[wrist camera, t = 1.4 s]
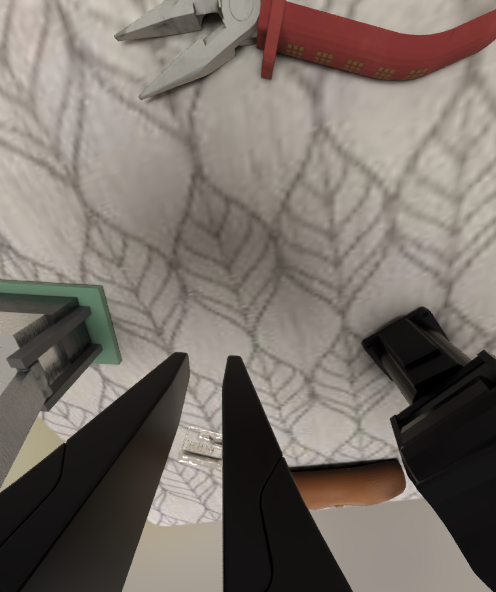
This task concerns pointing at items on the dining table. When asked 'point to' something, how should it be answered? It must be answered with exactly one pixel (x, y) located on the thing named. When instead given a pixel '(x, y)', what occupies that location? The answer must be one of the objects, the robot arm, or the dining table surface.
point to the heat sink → (38, 332)
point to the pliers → (301, 40)
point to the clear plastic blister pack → (196, 458)
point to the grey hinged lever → (20, 411)
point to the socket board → (96, 322)
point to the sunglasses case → (351, 485)
